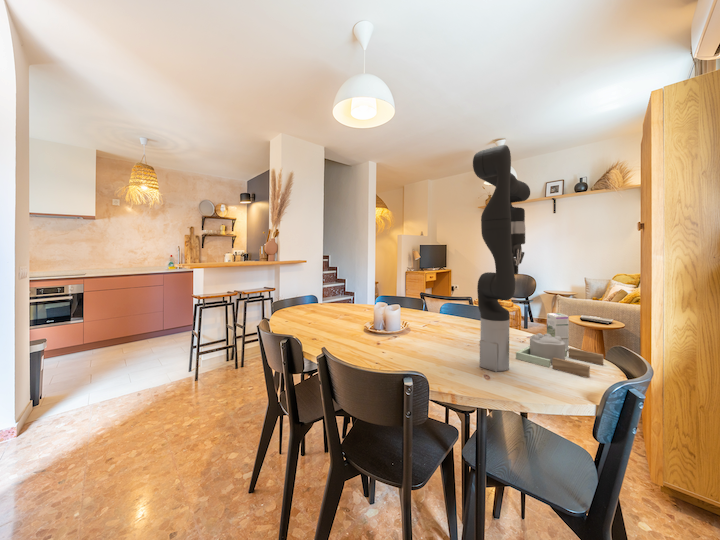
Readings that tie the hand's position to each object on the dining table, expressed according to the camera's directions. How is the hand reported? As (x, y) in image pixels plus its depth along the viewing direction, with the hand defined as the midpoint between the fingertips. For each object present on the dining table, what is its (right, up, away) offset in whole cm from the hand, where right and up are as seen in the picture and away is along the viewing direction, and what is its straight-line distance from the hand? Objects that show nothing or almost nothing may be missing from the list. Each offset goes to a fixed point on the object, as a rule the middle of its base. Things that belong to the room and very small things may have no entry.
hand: (514, 274), depth 122 cm
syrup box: (+16, -31, -3) cm, 35 cm away
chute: (+11, -32, -21) cm, 40 cm away
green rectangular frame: (+3, -32, -12) cm, 34 cm away
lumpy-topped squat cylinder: (+5, -32, -12) cm, 35 cm away
